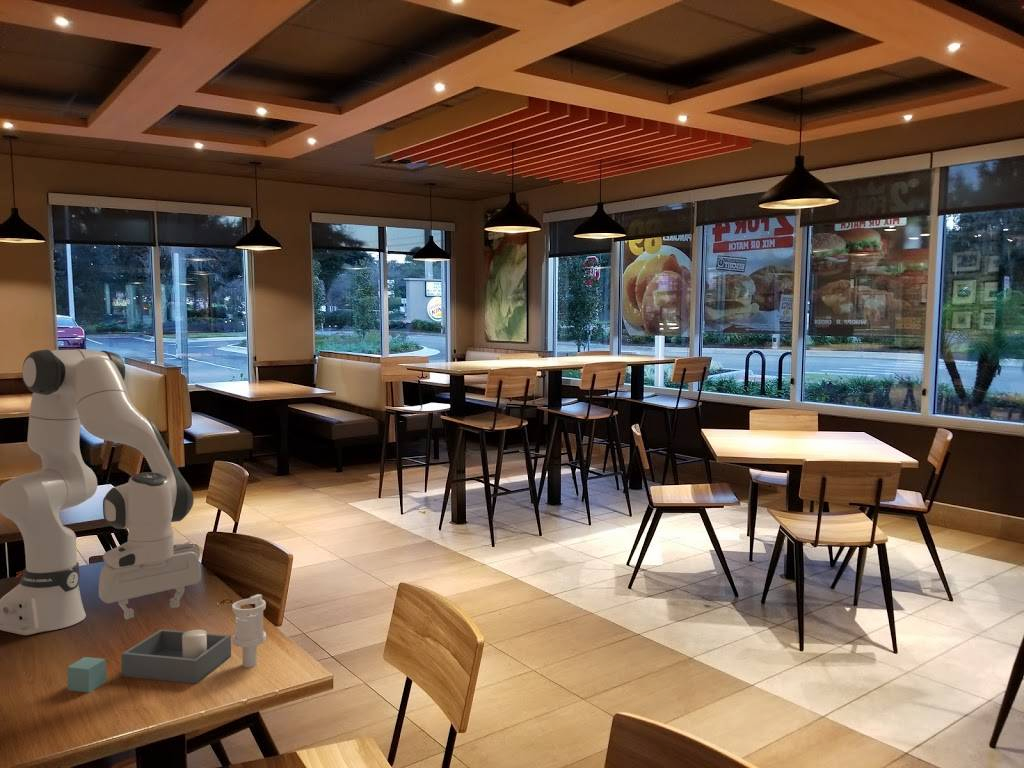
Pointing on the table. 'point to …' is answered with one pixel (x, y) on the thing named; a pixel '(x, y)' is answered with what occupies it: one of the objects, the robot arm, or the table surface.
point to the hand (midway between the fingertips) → (152, 612)
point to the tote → (174, 658)
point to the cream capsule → (194, 643)
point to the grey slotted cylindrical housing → (249, 628)
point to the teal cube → (86, 674)
